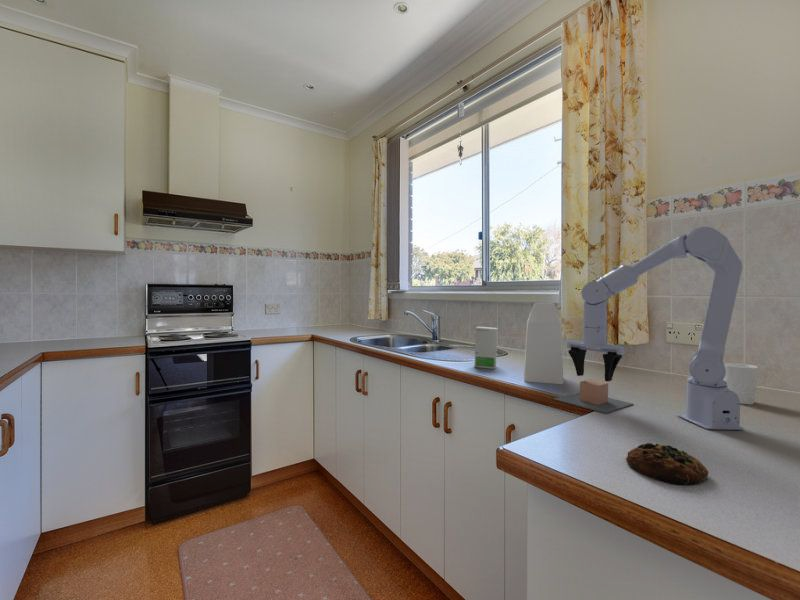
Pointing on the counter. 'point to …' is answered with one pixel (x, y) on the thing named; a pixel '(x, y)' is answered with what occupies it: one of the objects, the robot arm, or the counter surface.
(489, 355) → the skincare box
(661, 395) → the counter surface
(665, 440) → the counter surface
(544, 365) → the milk
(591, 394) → the cube
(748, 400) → the white cup
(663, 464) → the bread roll
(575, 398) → the panel
